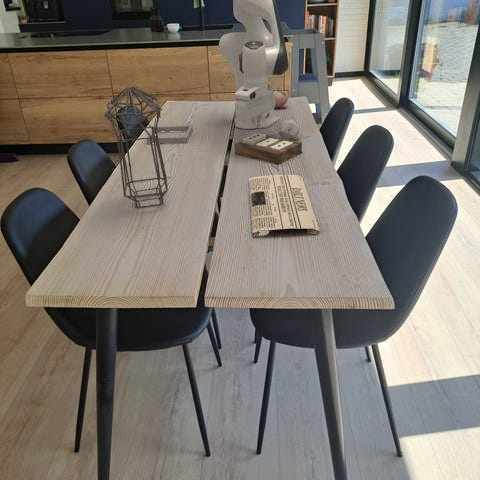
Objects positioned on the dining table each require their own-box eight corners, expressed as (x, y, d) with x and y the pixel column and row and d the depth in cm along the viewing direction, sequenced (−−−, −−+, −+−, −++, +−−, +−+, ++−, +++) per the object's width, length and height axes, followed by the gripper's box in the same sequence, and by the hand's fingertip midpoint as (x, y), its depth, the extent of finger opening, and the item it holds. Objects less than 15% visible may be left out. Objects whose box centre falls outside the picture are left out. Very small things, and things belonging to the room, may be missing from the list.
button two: (283, 148, 176) (283, 140, 174) (293, 150, 173) (293, 142, 171) (269, 155, 170) (269, 146, 168) (279, 157, 167) (279, 149, 166)
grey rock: (273, 141, 190) (279, 127, 181) (279, 126, 193) (285, 111, 185) (292, 148, 190) (298, 134, 181) (297, 133, 194) (303, 118, 185)
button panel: (258, 143, 187) (258, 133, 185) (301, 152, 175) (301, 142, 173) (234, 153, 177) (234, 143, 175) (278, 164, 165) (278, 153, 163)
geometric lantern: (123, 215, 136) (99, 95, 118) (124, 193, 149) (103, 83, 131) (175, 208, 138) (160, 90, 120) (172, 188, 151) (157, 78, 134)
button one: (270, 145, 179) (270, 137, 178) (279, 147, 177) (279, 139, 175) (256, 151, 174) (255, 143, 172) (265, 154, 171) (265, 146, 169)
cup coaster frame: (155, 132, 207) (154, 126, 206) (192, 130, 206) (192, 125, 205) (147, 144, 192) (146, 138, 191) (187, 143, 191) (186, 137, 190)
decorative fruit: (266, 109, 233) (266, 88, 228) (275, 105, 238) (275, 85, 233) (281, 111, 227) (281, 90, 222) (290, 107, 233) (290, 87, 227)
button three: (257, 140, 183) (257, 132, 181) (266, 142, 180) (265, 134, 178) (243, 146, 177) (242, 138, 175) (251, 148, 174) (251, 140, 173)
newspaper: (248, 184, 153) (248, 176, 151) (306, 181, 152) (306, 173, 151) (252, 239, 121) (252, 230, 119) (325, 235, 120) (326, 226, 119)
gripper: (265, 82, 176) (266, 118, 183) (231, 94, 163) (233, 132, 170) (278, 84, 172) (279, 120, 180) (245, 97, 159) (247, 135, 167)
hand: (257, 126), depth 175 cm, fingers closed
